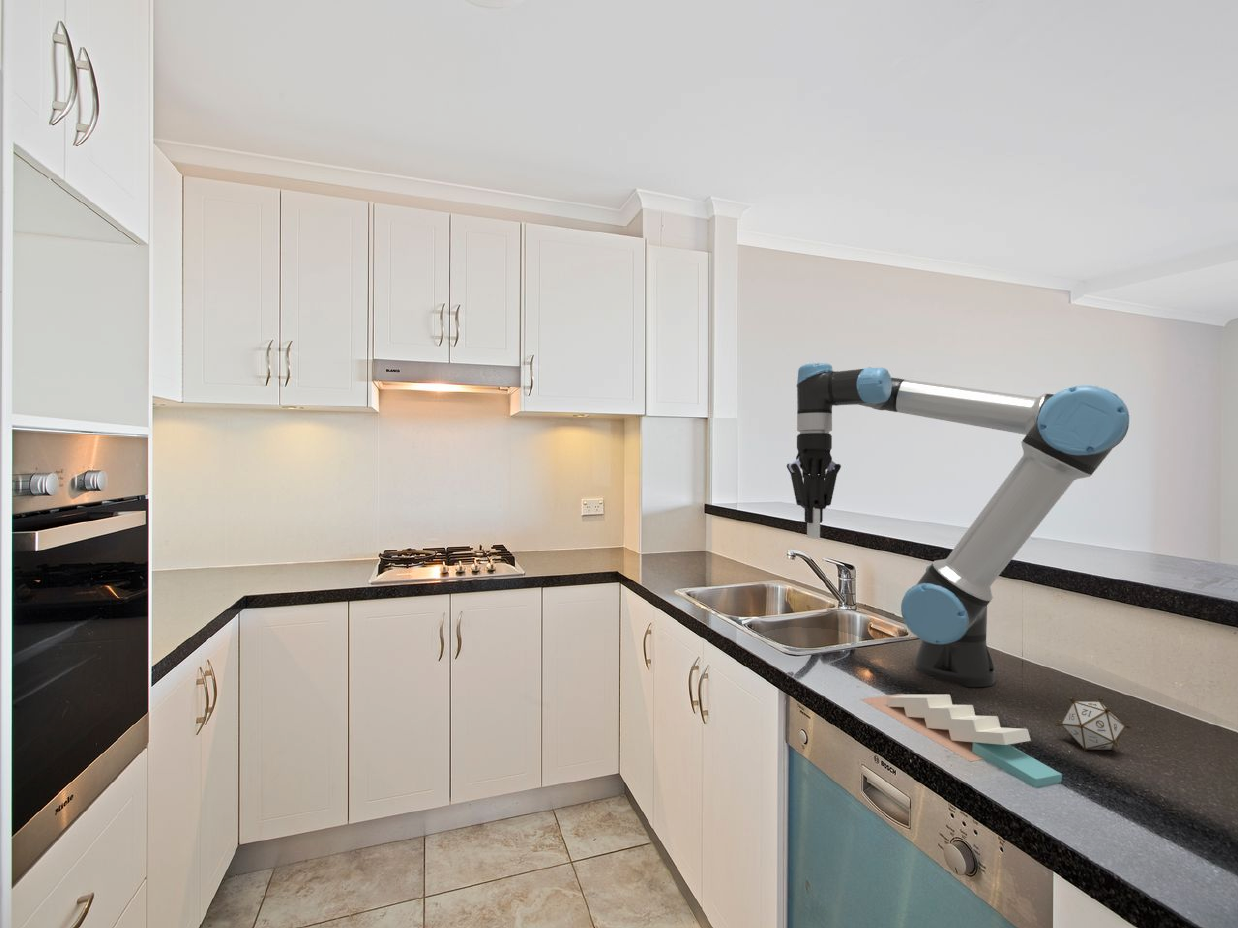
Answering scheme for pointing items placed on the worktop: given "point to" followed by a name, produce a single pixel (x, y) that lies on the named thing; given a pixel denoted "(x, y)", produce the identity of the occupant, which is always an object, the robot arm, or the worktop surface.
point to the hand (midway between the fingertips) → (813, 537)
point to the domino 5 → (1017, 764)
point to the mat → (924, 728)
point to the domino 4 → (992, 736)
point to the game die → (1093, 725)
